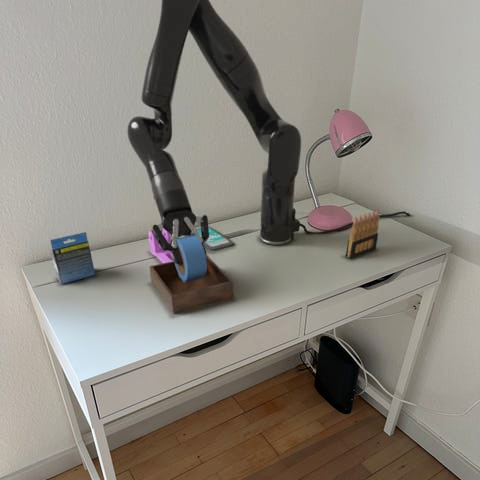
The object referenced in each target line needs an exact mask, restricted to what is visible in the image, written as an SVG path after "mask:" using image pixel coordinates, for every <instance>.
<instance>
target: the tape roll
mask: <svg viewBox="0 0 480 480" xmlns="http://www.w3.org/2000/svg"><path fill="white" fill-rule="evenodd" d="M176 241H177V248H179V251H180V254H181V257H182V260H183V265H181V266H179V265H178V264H176V263H175V266H176V269H177V271H178V273H179V276H180V278H181V279H182V280H183V282H184V283H187V282H191V281H195V280H199V279H203V276H205V275H206V272H207V261H206V255H205V251H204V248H203V245H202V243H201V241H200V239H199V238H198V237H197V236H196V235H192V236H188V235H187V236H181V237H178V239H176ZM173 261H174V260H173ZM174 262H175V261H174Z"/></svg>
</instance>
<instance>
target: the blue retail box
mask: <svg viewBox="0 0 480 480" xmlns="http://www.w3.org/2000/svg"><path fill="white" fill-rule="evenodd" d="M69 240H70V242H68V241H69ZM72 240H74V241H72ZM65 242H66V243H65ZM89 244H90V243H89V240H88V235H87V232H86V231H84V232H80V233H75V234H70V235H67V236H63V237H57V238H52V239H50V245H51V248H52V249H50V255H51V259H52V263H53V267H54V270H55V275H56V278H57V280H58V282H59V283H60V284H61V285H65V284H68V283H71V282H75V281H78V280H81V279H85V278H87V277H90V276H94V275H96V272H95V267H94V261H93V258H92V253H91V248H90V245H89Z"/></svg>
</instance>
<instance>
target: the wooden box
mask: <svg viewBox="0 0 480 480" xmlns="http://www.w3.org/2000/svg"><path fill="white" fill-rule="evenodd" d="M206 261H207V272H206V275H205V276H203V279H199V280H195V281H191V282H187V283H184V282H183V280H182V279H181V278H180V276H179V273H178V271H177V269H176V266H175V262H174V260H172V261H171V262H167V263H163V262H162V263H159V264H153V265H149V274H150V282H151V284H152V285H153V287H154V288H155V289H156V291H157V293H158V294H159V296H160V297H161V298H162V300H163V302H164V303H165V304H166V306H168V309H169V310H170V311H171V313H172V314H173V315H176V314H179V313H183V312H186V311H191V310H194V309H199V308H202V307H205V306H209V305H213V304H218V303H221V302H225V301H229V300H231V299H234V281H233V280H232V279H231V278H230V277H229V276H228V275H227V274H226V273H225V272H224V271H223V269H221V267H219V266H218V265H217V263H215V262H214V260H212V259H211V258H210V256H209V255H208V254H207V255H206Z"/></svg>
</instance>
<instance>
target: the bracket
mask: <svg viewBox="0 0 480 480" xmlns="http://www.w3.org/2000/svg"><path fill="white" fill-rule="evenodd" d="M162 229H163V228H162ZM162 234H163V235H164V237H165V238H166V240H167V242H168V243H170V235H171V234H170V233H169V232H167V231H166V230H165V229H163V232H162ZM148 242H149V243H148V244H149V251H150V254H152V255H153V256H155V257H156V258H157V259H158V260H159V261H160V262H162V263H167V262H171V261H173V260H172V259H171V258H170V257H172V258H173V254H172V252H171V251H169V250H166V251H164V250H163V249H162V248H161V246H160V245H159V243H158V241H157V240H156V238H155V236H154V235H153V233H152V230H150V231H148Z"/></svg>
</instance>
